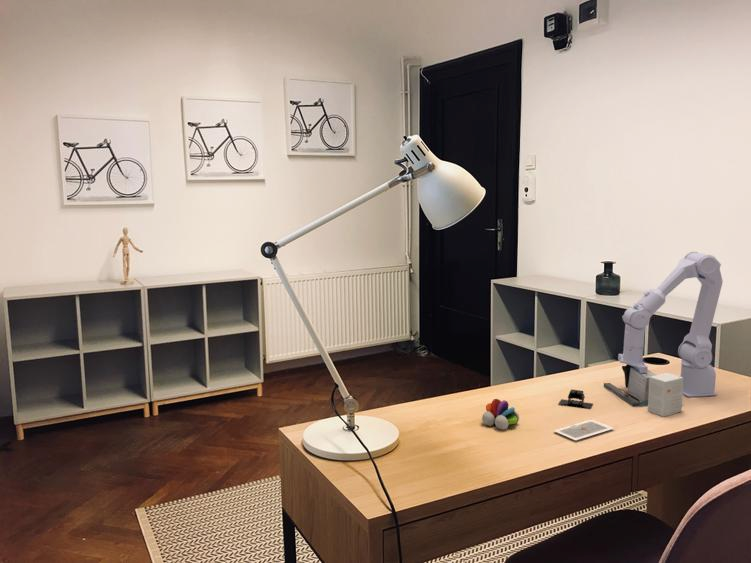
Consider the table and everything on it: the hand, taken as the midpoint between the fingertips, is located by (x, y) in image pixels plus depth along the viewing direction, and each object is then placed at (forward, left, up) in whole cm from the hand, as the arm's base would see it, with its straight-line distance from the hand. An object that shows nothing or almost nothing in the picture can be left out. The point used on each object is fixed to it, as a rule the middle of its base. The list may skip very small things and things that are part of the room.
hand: (630, 388), depth 203 cm
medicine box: (-1, +5, -2) cm, 5 cm away
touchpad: (+27, +26, -3) cm, 38 cm away
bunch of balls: (+47, +18, -2) cm, 51 cm away
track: (-1, +2, -2) cm, 3 cm away
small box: (-2, +16, -2) cm, 16 cm away
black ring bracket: (+20, +6, -3) cm, 21 cm away
